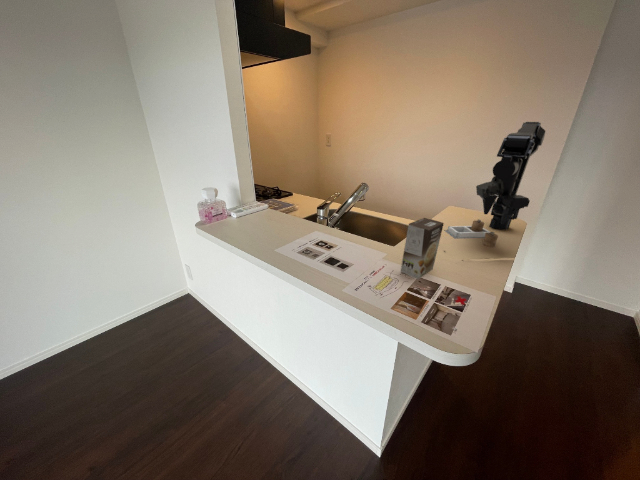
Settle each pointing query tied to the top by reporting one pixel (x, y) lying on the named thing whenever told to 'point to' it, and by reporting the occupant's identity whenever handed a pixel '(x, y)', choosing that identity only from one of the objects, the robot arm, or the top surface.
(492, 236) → the brown cylinder
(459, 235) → the housing
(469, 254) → the top surface
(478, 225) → the brown housed cylinder
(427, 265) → the coffee box
